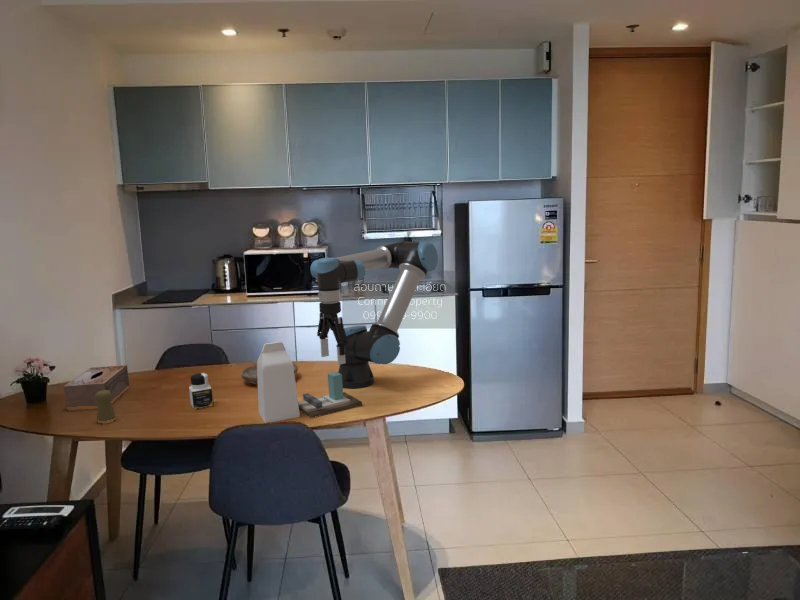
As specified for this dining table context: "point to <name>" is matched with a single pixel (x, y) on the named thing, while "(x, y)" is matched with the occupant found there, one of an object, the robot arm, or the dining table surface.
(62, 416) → the dining table surface
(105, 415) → the green pepper shaker
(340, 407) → the board
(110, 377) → the tissue box cover
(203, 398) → the medicine bottle
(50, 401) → the dining table surface
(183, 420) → the dining table surface
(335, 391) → the teal cube on panel
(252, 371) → the ceramic bowl
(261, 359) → the milk
